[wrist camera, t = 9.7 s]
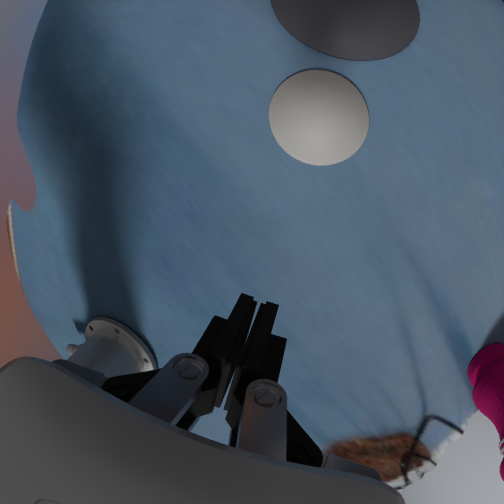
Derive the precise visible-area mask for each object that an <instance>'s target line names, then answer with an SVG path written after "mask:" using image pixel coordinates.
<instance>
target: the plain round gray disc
mask: <svg viewBox="0 0 504 504" xmlns="http://www.w3.org/2000/svg"><path fill="white" fill-rule="evenodd" d="M269 123H270V127H271V131H272V133H273V135H274V137H275V139H276V141H277V142H278V144H279V145H280V146H281V147H282V148H283V149H284V150H285V151H286V152H287V153H288V154H289V155H291V156H292V157H294V158H295V159H297V160H299V161H302V162H304V163H307V164H312V165H321V166H322V165H332V164H336V163H339V162H342V161H344V160H346V159H347V158H349V157H350V156H352V155H353V154H354V153H355V152H356V151H357V150H358V149H359V148H360V147H361V145H362V143H363V142H364V140H365V138H366V135H367V132H368V127H369V114H368V109H367V105H366V103H365V101H364V98H363V97H362V95H361V93H360V92H359V91H358V89H357V88H356V87H355V86H354V85H353V84H352V83H351V82H349V81H348V80H347V79H345V78H343V77H342V76H340V75H338V74H335V73H332V72H329V71H324V70H308V71H303V72H300V73H297V74H295V75H293V76H291V77H289V78H288V79H287V80H285V81H284V82H283V83H282V84H281V85H280V86H279V87H278V89H277V90H276V92H275V93H274V95H273V97H272V100H271V103H270V107H269Z"/></svg>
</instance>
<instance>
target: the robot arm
mask: <svg viewBox="0 0 504 504" xmlns="http://www.w3.org/2000/svg"><path fill="white" fill-rule="evenodd" d="M253 298H254V297H252V296H249V295H246V294H243V293H241V295H240V297H239V299H238V301H237V303H236V305H235V306H234V308H233V310H232V312H231V314H230V316H229V318H228V320H227V319H224V318H221V317H219V316H216V315H215V316H214V317H213V319H212V320H211V322H210V324H209V325H208V327H207V329H206V330H205V332H204V334H203V335H202V337H201V339H200V340H199V342H198V344H197V345H196V347H195V349H194V350H193V352H192V354H191V353H181V354H178V355H175V356H174V357H173V358H171V359H170V360H169V362H168V363H167V364H166V365H165V366H164V367H163V368H161V369H157V365H156V361H155V359H154V357H153V355H152V353H151V352H150V350H149V348H148V347H147V346H146V345H145V343H144V342H143V341H142V340H141V339H140V338H139V337H138V336H137V335H136V334H135V333H134V332H133V331H132V330H130V329H129V328H128V327H126V326H125V325H123V324H121V323H119V322H118V321H116V320H113V319H110V318H106V317H97V318H95V319H93V320H92V321H91V322H90V323H89V324H88V325H87V326H86V330H85V337H86V341H85V342H84V343H83V344H80V345H74V344H68V345H67V347H66V352H67V354H68V355H71V356H70V357H69V358H68V359H67V360H63V359H58V360H55V361H52V362H50V361H47V360H44V359H40V358H36V357H27V356H26V357H25V356H24V357H19V358H16V359H14V360H12V361H10V362H8V363H7V364H6V365H4V366H3V367H1V368H0V504H405V501H404V499H403V497H402V495H401V494H400V493H399V492H398V491H397V490H395V489H394V488H392V487H391V486H389V485H387V484H385V483H383V482H381V476H380V474H379V473H378V472H377V471H376V470H375V469H373V468H371V467H368V466H364V465H361V464H358V463H355V462H352V461H349V460H346V459H344V458H341V457H338V456H335V455H333V454H329V455H326V454H323V453H322V452H321V450H320V448H319V447H318V446H317V445H316V444H315V443H314V441H313V440H312V439H311V438H310V437H309V436H308V434H307V433H306V432H305V431H304V430H303V428H302V427H301V426H300V425H299V424H298V422H297V421H296V420H295V419H294V418H293V416H292V415H291V414H290V413H289V411H288V410H287V396H286V392H285V390H284V389H283V388H282V387H281V386H280V385H279V384H278V383H277V382H278V378H279V373H280V369H281V364H282V360H283V355H284V351H285V346H286V341H287V339H286V338H283V337H280V336H276V335H273V334H271V331H272V328H273V324H274V321H275V317H276V314H277V310H278V306H279V305H277V304H274V303H271V302H268V301H267V302H266V304H263V303H261V304H260V307H259V310H258V312H257V315H256V317H255V320H254V323H253V325H252V328H251V330H250V333H249V335H248V332H249V329H250V325H251V322H252V319H253V315H254V312H255V308H256V305H257V301H254V300H253ZM247 335H248V338H247ZM246 339H247V341H246ZM245 342H246V343H245ZM244 345H245V346H244ZM236 366H237V367H236ZM235 369H236V370H235ZM234 371H235V373H234ZM233 374H234V377H233V380H232V383H231V386H230V390H229V393H228V396H227V400H226V403H225V406H224V410H227V411H228V413H227V416H226V418H225V419H226V421H227V422H228V424H229V425H230V427H231V431H230V436H229V442H228V445H225V444H222V443H219V442H216V441H213V440H210V439H207V438H205V437H202V436H199V435H197V434H194V433H191V430H192V429H193V427H194V426H195V425H196V423H197V422H198V421H199V418H200V416H203V415H206V414H209V413H210V412H211V413H212V412H213V409H214V407H218V408H220V406H221V403H222V401H223V398H224V396H225V394H226V391H227V389H228V386H229V384H230V381H231V379H232V376H233Z"/></svg>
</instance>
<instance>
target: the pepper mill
mask: <svg viewBox="0 0 504 504" xmlns="http://www.w3.org/2000/svg"><path fill="white" fill-rule="evenodd" d="M467 374H468V377H469V380H470V382H471V384H472V385H473V386H474V388H473V393H472V396H473V400H474V402H475V405H476V407H477V408H478V409H479V410H480V411H481V413H483V414H484V415H485V416H486V417H488V418H489V419H490V420H491V421H492V422H493V424H494V425H495V426H496V429H497V431H498V433H499V437H500V443H499V445H498V447H499V449H500V454H501V455H504V345H503V344H501V343H495V344H491V345H489V346H487V347H485V348H484V349H482V350H481V351H480V352H479V353H478V354H477V355H476V356H475V357H474V358H473V359H472V361H471V363H470V364H469V367H468V371H467ZM500 475H501V477H502V479H503V481H504V457H503V460H502V462H501V465H500Z"/></svg>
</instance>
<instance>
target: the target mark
mask: <svg viewBox="0 0 504 504" xmlns="http://www.w3.org/2000/svg"><path fill="white" fill-rule="evenodd" d="M271 3H272V7H273V10H274V12H275V15H276V16H277V18H278V20H279V21H280V23H281V24H282V25H283V26H284V28H285V29H286V30H287V31H288V32H289V33H290V34H291V35H292V36H294V37H295V38H296V39H298V40H299V41H300V42H302V43H304V44H305V45H307V46H309V47H311V48H313V49H315V50H317V51H319V52H322V53H324V54H327V55H330V56H333V57H337V58H342V59H347V60H356V61H370V60H378V59H383V58H387V57H390V56H392V55H395V54H397V53H398V52H400V51H402V50H403V49H404V48H406V47H407V46H408V45H409V44H410V43H411V42H412V41H413V39H414V37H415V36H416V34H417V31H418V28H419V22H420V14H419V9H418V5H417V2H416V0H271Z"/></svg>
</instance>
